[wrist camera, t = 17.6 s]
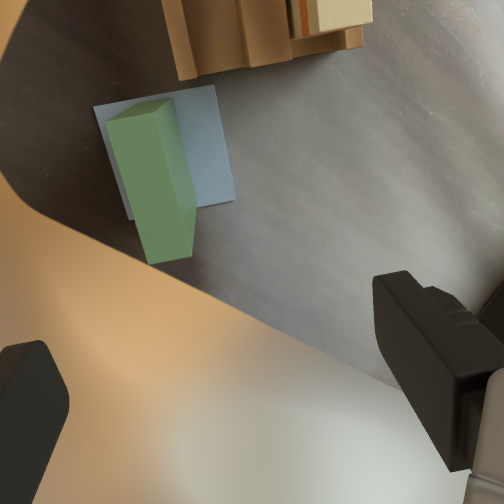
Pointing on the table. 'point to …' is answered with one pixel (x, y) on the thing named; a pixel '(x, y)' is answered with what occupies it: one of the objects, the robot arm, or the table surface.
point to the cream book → (325, 16)
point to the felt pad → (187, 142)
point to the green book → (155, 177)
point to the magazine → (494, 314)
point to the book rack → (240, 35)
